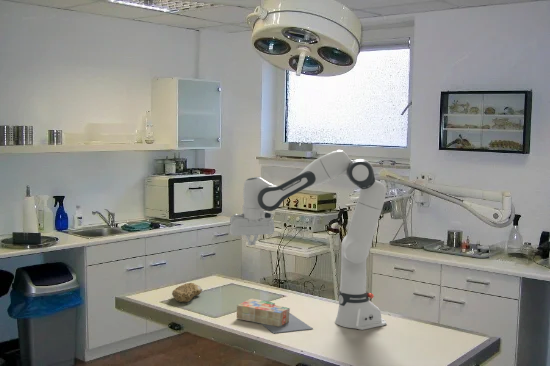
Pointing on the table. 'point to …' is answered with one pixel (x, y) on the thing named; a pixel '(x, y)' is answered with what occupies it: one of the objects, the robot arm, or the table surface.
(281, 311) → the stack of blocks
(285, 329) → the mat
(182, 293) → the brown rock
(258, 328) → the table surface
